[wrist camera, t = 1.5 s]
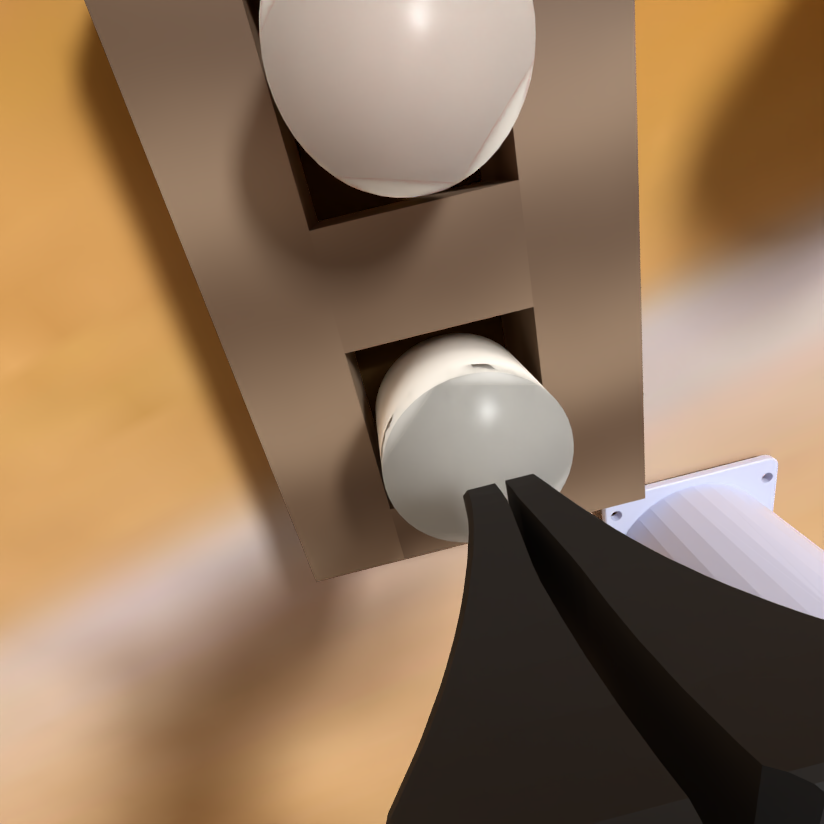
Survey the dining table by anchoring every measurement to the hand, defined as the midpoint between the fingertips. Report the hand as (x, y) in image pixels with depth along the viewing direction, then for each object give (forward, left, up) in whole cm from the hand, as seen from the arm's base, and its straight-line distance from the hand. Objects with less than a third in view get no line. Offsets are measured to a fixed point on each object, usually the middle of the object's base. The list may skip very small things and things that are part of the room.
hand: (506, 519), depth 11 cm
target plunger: (+9, 0, -6) cm, 11 cm away
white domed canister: (0, 0, -6) cm, 6 cm away
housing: (+5, 0, -9) cm, 10 cm away
